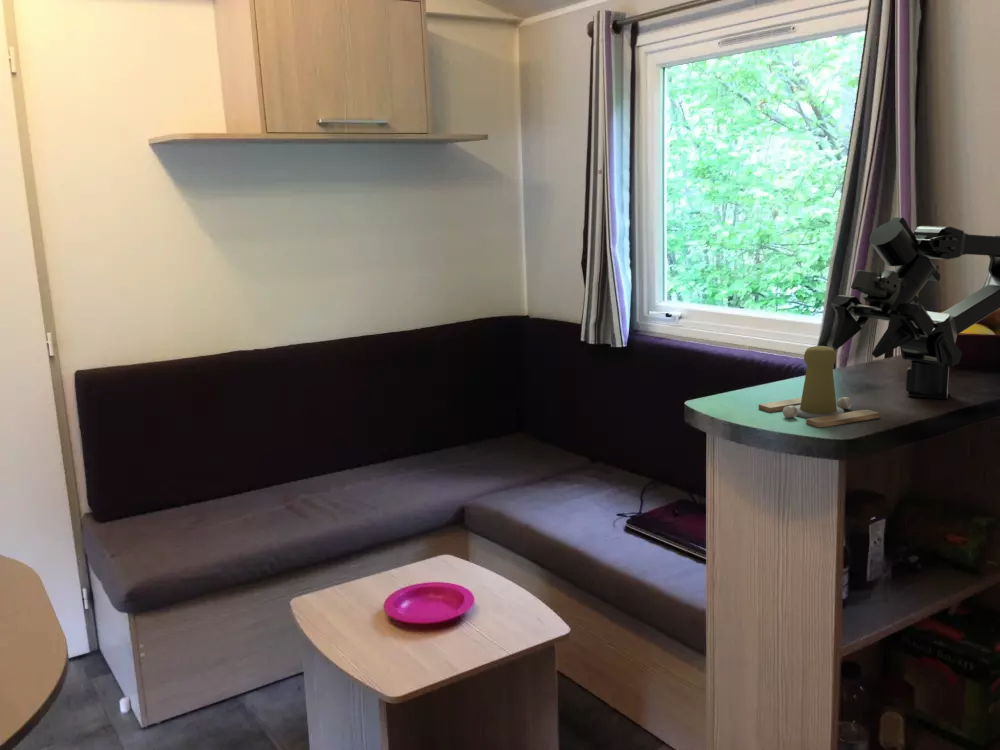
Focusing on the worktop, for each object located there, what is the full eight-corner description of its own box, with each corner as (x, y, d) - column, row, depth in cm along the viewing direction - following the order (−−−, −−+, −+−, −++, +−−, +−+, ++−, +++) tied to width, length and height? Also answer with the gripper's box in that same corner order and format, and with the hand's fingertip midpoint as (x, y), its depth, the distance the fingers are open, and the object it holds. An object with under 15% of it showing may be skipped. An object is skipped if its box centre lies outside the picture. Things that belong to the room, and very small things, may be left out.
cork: (823, 415, 152) (826, 351, 150) (792, 409, 157) (794, 347, 155) (843, 409, 156) (846, 346, 154) (812, 403, 160) (814, 342, 158)
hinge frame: (816, 399, 166) (816, 389, 165) (880, 417, 152) (880, 405, 152) (757, 408, 160) (757, 397, 160) (818, 428, 147) (818, 416, 147)
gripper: (841, 250, 164) (791, 316, 162) (925, 256, 147) (871, 329, 145) (871, 290, 169) (823, 354, 167) (957, 300, 152) (905, 371, 150)
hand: (853, 351), depth 157 cm, fingers open, 9 cm apart
